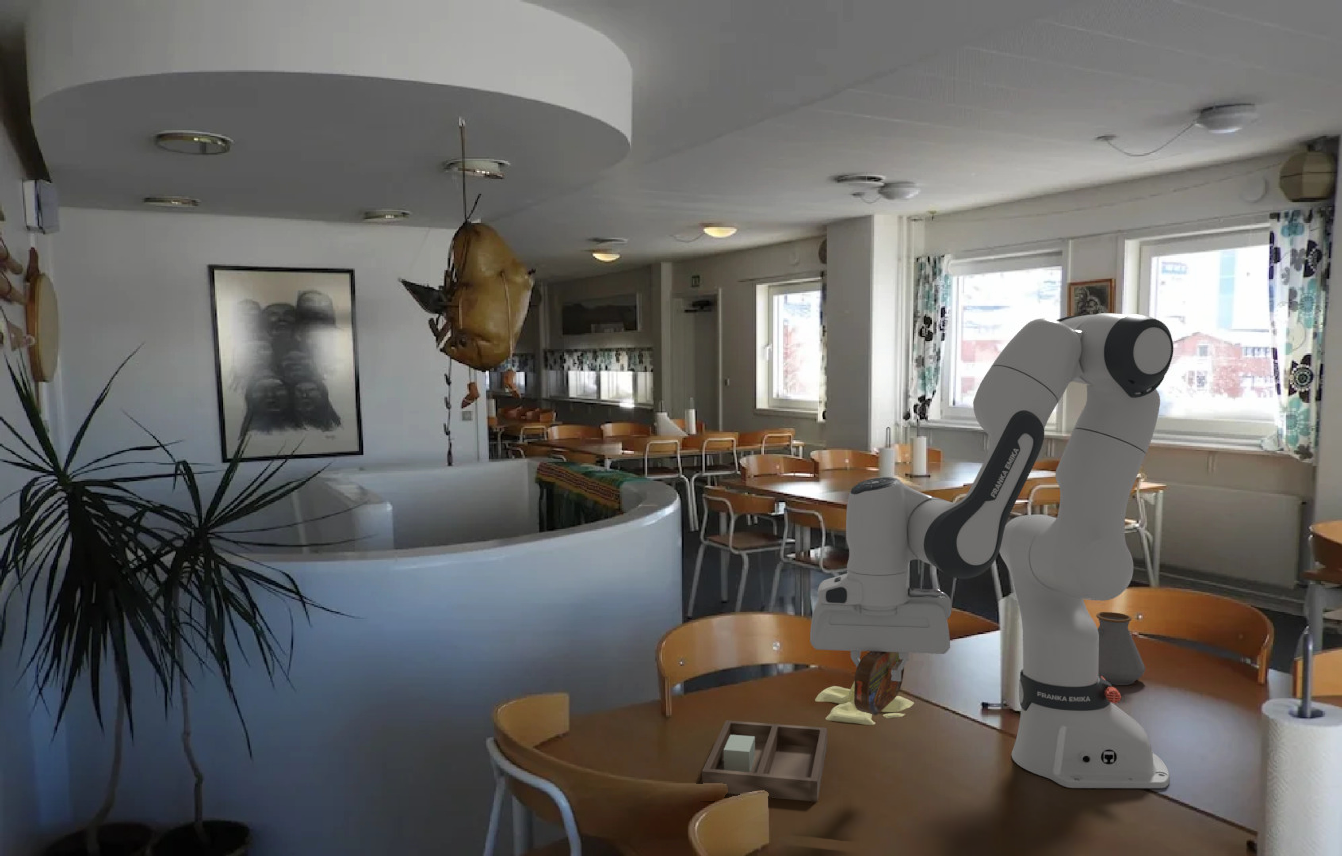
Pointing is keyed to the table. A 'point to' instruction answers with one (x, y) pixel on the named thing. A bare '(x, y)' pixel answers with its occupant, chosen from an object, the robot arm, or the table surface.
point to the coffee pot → (1117, 650)
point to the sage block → (739, 753)
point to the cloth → (848, 709)
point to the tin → (876, 682)
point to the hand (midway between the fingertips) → (880, 679)
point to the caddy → (773, 760)
